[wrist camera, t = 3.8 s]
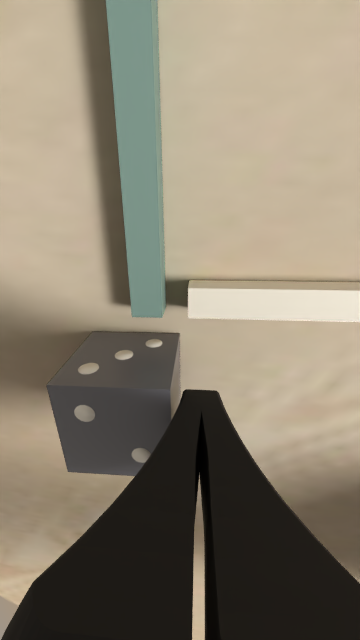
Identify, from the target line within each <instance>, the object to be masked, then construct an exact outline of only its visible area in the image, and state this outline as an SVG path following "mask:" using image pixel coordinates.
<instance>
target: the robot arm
mask: <svg viewBox="0 0 360 640" xmlns="http://www.w3.org/2000/svg"><path fill="white" fill-rule="evenodd" d="M199 472H200V485H201V497H202V510H203V522H204V542H205V640H360V583H359V582H358V581H357V580H356V579H355V578H354V577H353V576H352V575H351V574H350V573H349V572H348V571H347V570H346V569H345V568H344V567H343V566H342V565H341V564H340V563H339V562H338V561H337V560H336V559H335V558H334V557H333V556H332V555H331V554H330V553H329V551H328V550H327V549H326V548H325V547H324V546H323V545H322V544H321V543H320V542H319V541H318V540H317V539H316V538H315V536H314V535H313V534H312V533H311V532H310V531H309V529H308V528H307V527H306V526H305V525H304V524H303V523H302V521H301V520H300V519H299V518H298V517H297V516H296V514H295V513H294V512H293V511H292V510H291V509H290V508H289V506H288V505H287V504H286V503H285V502H284V500H283V499H282V498H281V496H280V495H279V494H278V493H277V491H276V490H275V489H274V488H273V486H272V485H271V484H270V482H269V481H268V479H267V478H266V477H265V475H264V474H263V473H262V471H261V470H260V468H259V467H258V465H257V464H256V462H255V461H254V459H253V458H252V456H251V455H250V453H249V452H248V450H247V449H246V447H245V445H244V444H243V442H242V440H241V439H240V437H239V435H238V433H237V431H236V430H235V428H234V426H233V424H232V422H231V420H230V418H229V416H228V414H227V412H226V410H225V408H224V405H223V403H222V400H221V398H220V395H219V393H218V392H217V391H212V390H187V389H186V390H185V391H184V392H183V394H182V398H181V400H180V403H179V405H178V408H177V410H176V412H175V414H174V416H173V418H172V420H171V422H170V424H169V426H168V428H167V429H166V431H165V433H164V435H163V436H162V438H161V439H160V441H159V443H158V444H157V446H156V447H155V449H154V451H153V452H152V454H151V455H150V457H149V458H148V459H147V461H146V462H145V464H144V465H143V466H142V468H141V469H140V470H139V472H138V473H137V474H136V476H135V477H134V478H133V480H132V481H131V482H130V483H129V484H128V486H127V487H126V488H125V489H124V491H123V492H122V493H121V494H120V495H119V497H118V498H117V499H116V500H115V501H114V502H113V504H112V505H111V506H110V507H109V508H108V509H107V510H106V511H105V512H104V513H103V514H102V515H101V516H100V517H99V519H98V520H97V521H96V522H95V523H94V524H93V525H92V526H91V527H90V528H89V529H88V530H87V531H86V532H85V533H84V534H83V535H82V536H81V537H80V538H79V539H78V540H77V541H76V542H75V543H74V544H73V545H72V546H71V547H70V548H69V549H68V550H67V551H66V552H65V553H64V554H62V555H61V556H60V557H59V558H58V559H57V560H56V561H55V562H54V563H53V564H52V565H51V566H50V567H49V568H48V569H46V570H45V571H44V572H43V573H42V574H41V575H40V576H39V577H38V578H37V579H36V580H35V581H34V582H33V583H32V585H31V586H30V588H29V590H28V591H27V593H26V595H25V597H24V598H23V600H22V602H21V603H20V605H19V607H18V609H17V611H16V613H15V615H14V616H13V618H12V620H11V621H10V623H9V625H8V627H7V629H6V631H5V633H4V635H3V637H2V639H1V640H192V607H193V554H194V523H195V513H196V503H197V492H198V482H199Z"/></svg>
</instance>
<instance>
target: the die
mask: <svg viewBox="0 0 360 640" xmlns="http://www.w3.org/2000/svg"><path fill="white" fill-rule="evenodd" d="M47 389H48V393H49V397H50V401H51V406H52V410H53V414H54V418H55V422H56V426H57V430H58V434H59V438H60V442H61V446H62V450H63V454H64V458H65V462H66V466H67V470H68V472H78V473H94V474H110V475H127V476H136V474H137V473H138V472H139V470H140V469H141V468H142V466H143V465H144V464H145V462H146V461H147V459H148V458H149V457H150V455H151V454H152V452H153V451H154V449H155V447H156V446H157V444H158V443H159V441H160V439H161V438H162V436H163V435H164V433H165V431H166V429H167V428H168V426H169V424H170V422H171V420H172V418H173V416H174V414H175V412H176V410H177V408H178V405H179V403H180V333H136V332H92V333H91V334H90V335H89V336H88V338H87V339H86V340H85V341H84V342H83V343H82V345H81V346H80V347H79V348H78V349H77V350H76V351H75V353H74V354H73V355H72V356H71V357H70V358H69V360H68V361H67V362H66V363H65V364H64V365H63V366H62V368H61V369H60V370H59V371H58V372H57V373H56V374H55V376H54V377H53V378H52V379H51V380H50V381H49V383H48V384H47Z"/></svg>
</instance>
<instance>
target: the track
mask: <svg viewBox="0 0 360 640" xmlns="http://www.w3.org/2000/svg"><path fill="white" fill-rule="evenodd" d="M106 9H107V21H108V33H109V45H110V57H111V69H112V81H113V94H114V106H115V118H116V130H117V142H118V154H119V166H120V178H121V191H122V203H123V215H124V227H125V239H126V251H127V263H128V275H129V288H130V300H131V312H132V317H156V318H162V317H163V314H164V311H165V308H166V291H165V255H164V220H163V184H162V148H161V113H160V77H159V42H158V6H157V0H106ZM188 318H201V319H246V320H291V321H336V322H360V282H307V281H227V280H189V286H188Z"/></svg>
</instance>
